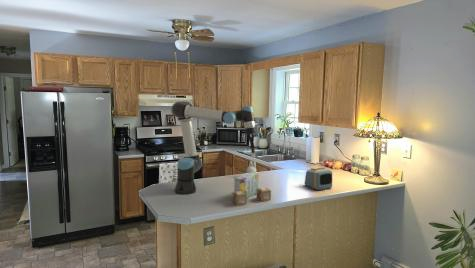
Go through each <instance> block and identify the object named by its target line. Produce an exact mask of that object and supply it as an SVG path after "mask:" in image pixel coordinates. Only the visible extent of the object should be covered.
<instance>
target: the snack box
mask: <svg viewBox="0 0 475 268" xmlns="http://www.w3.org/2000/svg"><path fill="white" fill-rule="evenodd" d="M241 175H242V174H241ZM241 175H239V176H236V177H234V178H233V179H234V180H233V181H234V184H233V192H237V191H243V192H245V193H246V194H247V198H249V197H252V196H254V195H257V188H259V173H258V172H256V173H254V172H252V173H249V174H246V175H242V176H241Z"/></svg>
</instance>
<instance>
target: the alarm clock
mask: <svg viewBox="0 0 475 268" xmlns="http://www.w3.org/2000/svg"><path fill="white" fill-rule="evenodd" d="M304 177H305V178H304V186H306V187H309V188H311V189H313V190H315V191H316V190H317V191H322V190H327V189H331V188H333V171H332V170H331V169H327V168H326V167H323V166H313V167H311V168H310V169H307V170H306V172H305V176H304Z"/></svg>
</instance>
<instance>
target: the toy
mask: <svg viewBox="0 0 475 268" xmlns="http://www.w3.org/2000/svg"><path fill="white" fill-rule="evenodd" d="M256 163H257V162H256V161H252V160H250V161H249V162H248V164H249V165H248V167H247V168H246V172H244V173H242V174H241V175H240V176H242V175H246V174H249V173H252V172H254V173H257V167H256V166H257V164H256Z"/></svg>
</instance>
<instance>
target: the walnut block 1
mask: <svg viewBox="0 0 475 268" xmlns="http://www.w3.org/2000/svg"><path fill="white" fill-rule="evenodd" d="M231 199H232V201H231V202H232V204H234V205H235V206H238V205H239V206H244V205H245V204H246V205H247V204H248V203H247V202H248V201H247V200H248V197H247V194H246V193H245V192H243V191H237V192H234V191H232V198H231ZM239 206H238V207H239Z"/></svg>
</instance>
